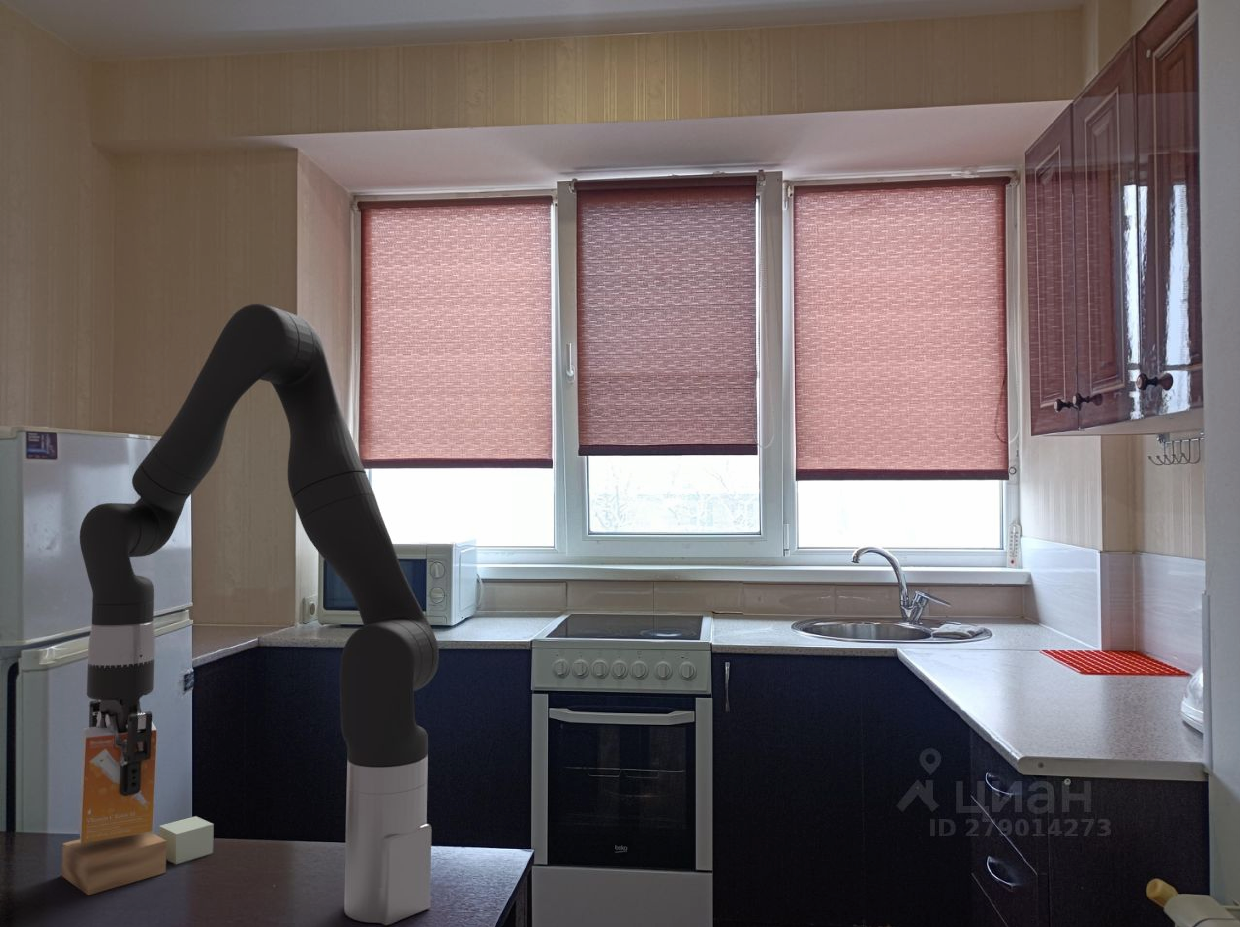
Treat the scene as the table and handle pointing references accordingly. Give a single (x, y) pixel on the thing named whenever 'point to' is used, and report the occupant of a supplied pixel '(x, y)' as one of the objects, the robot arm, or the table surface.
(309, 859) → the table surface
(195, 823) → the brick
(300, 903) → the table surface
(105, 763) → the small box
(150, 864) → the base brick
